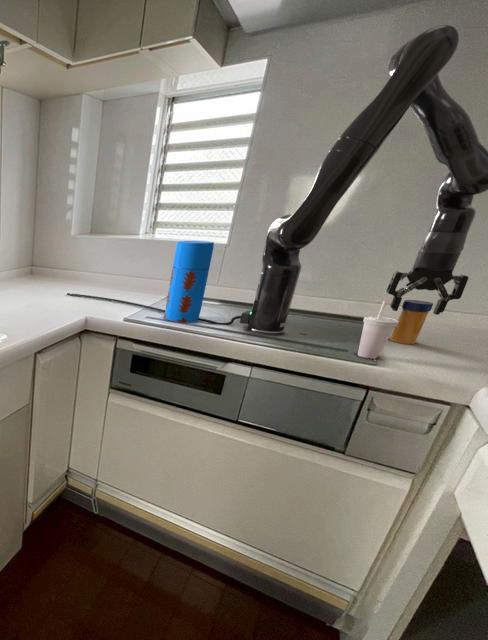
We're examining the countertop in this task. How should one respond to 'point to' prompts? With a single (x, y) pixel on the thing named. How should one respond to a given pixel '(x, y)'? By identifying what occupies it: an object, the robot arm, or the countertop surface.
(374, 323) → the smoothie
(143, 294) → the countertop surface
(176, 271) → the thermos
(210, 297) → the countertop surface
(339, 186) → the robot arm
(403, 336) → the jam jar
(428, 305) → the jam lid
